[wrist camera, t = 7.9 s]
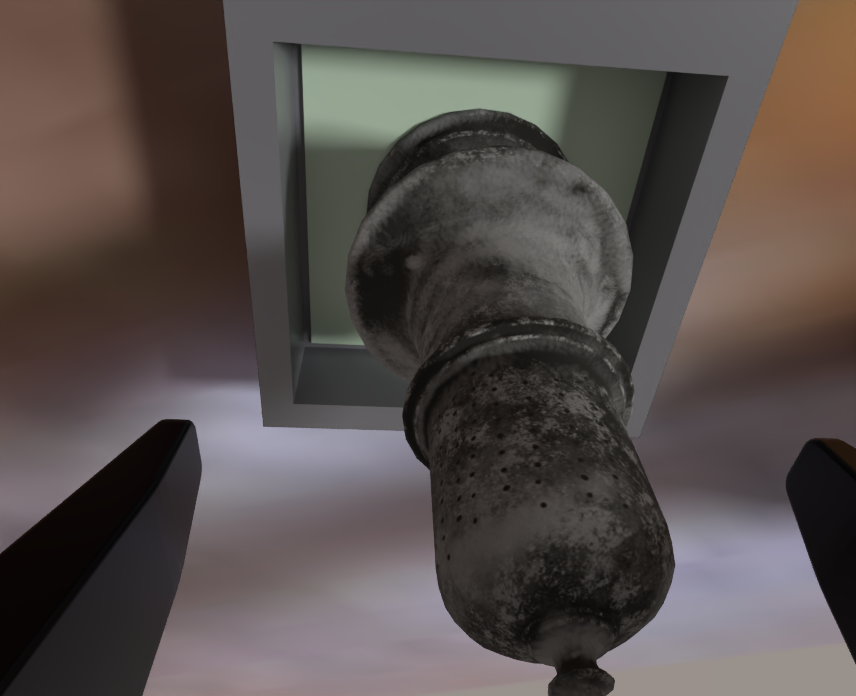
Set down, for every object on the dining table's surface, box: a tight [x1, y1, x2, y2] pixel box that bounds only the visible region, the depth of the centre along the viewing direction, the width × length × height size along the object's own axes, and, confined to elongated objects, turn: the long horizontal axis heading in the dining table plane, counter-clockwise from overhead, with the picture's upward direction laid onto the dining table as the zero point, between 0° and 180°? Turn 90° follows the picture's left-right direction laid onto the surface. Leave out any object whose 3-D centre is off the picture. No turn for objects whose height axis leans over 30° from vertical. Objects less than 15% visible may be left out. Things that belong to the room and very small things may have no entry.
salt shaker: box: [345, 108, 675, 696], centre depth 11 cm, size 6×6×12 cm
